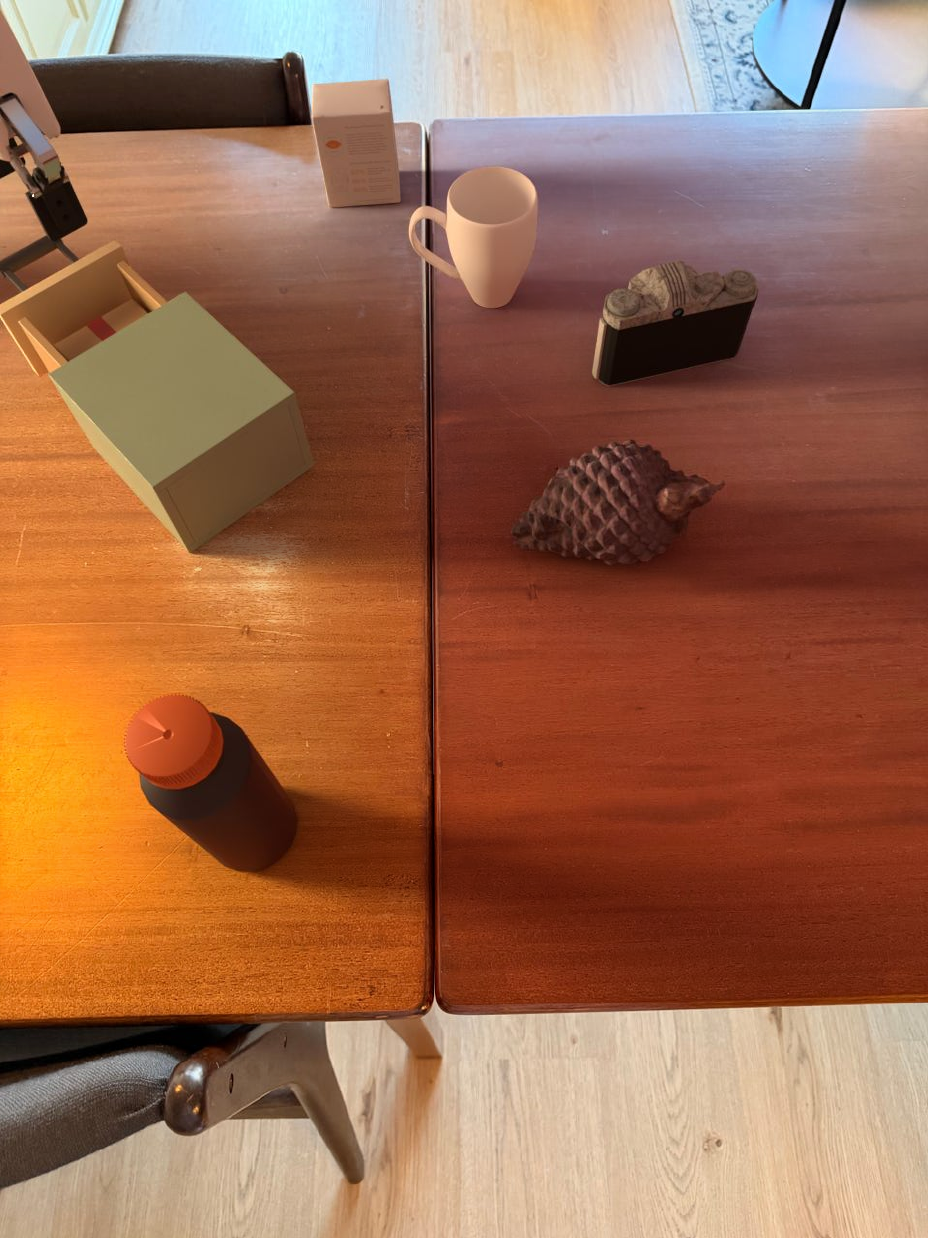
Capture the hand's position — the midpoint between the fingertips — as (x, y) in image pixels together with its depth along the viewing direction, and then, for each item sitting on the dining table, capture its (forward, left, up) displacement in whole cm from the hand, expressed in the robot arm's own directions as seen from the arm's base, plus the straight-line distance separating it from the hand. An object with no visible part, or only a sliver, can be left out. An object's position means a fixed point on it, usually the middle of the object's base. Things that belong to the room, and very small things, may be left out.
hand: (37, 200), depth 70 cm
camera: (+33, +40, -20) cm, 55 cm away
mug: (+15, +32, -20) cm, 41 cm away
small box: (-5, +34, -20) cm, 40 cm away
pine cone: (+44, +21, -20) cm, 52 cm away
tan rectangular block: (0, 0, -18) cm, 18 cm away
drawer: (-3, 0, -19) cm, 19 cm away
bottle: (+44, -17, -20) cm, 51 cm away
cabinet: (+13, 0, -20) cm, 24 cm away
